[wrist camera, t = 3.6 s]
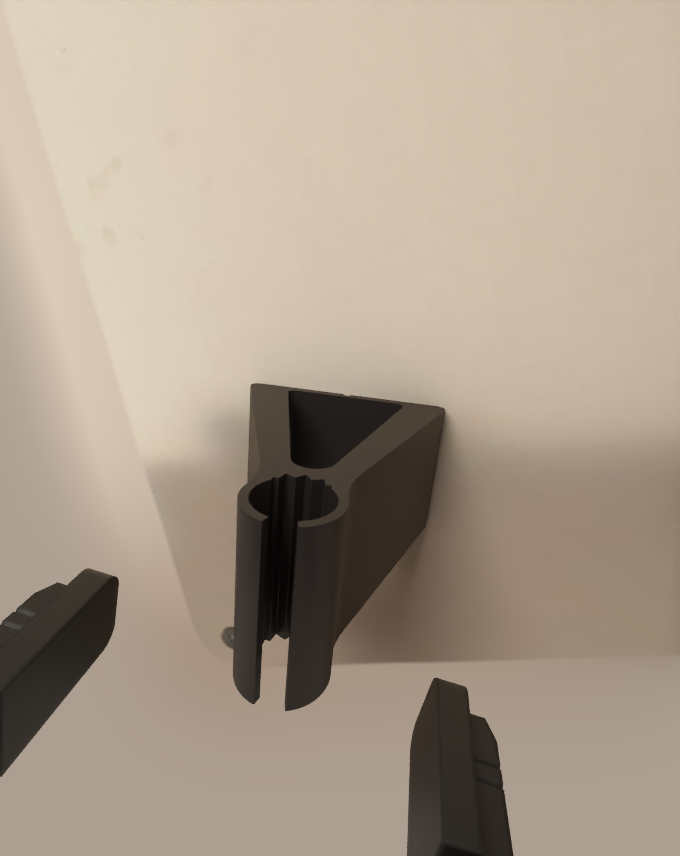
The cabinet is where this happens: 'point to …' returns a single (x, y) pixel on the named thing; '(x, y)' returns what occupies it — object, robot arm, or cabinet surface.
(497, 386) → the cabinet surface
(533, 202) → the cabinet surface
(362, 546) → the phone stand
